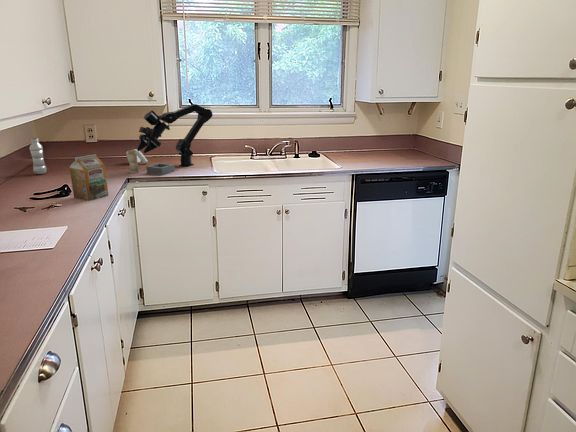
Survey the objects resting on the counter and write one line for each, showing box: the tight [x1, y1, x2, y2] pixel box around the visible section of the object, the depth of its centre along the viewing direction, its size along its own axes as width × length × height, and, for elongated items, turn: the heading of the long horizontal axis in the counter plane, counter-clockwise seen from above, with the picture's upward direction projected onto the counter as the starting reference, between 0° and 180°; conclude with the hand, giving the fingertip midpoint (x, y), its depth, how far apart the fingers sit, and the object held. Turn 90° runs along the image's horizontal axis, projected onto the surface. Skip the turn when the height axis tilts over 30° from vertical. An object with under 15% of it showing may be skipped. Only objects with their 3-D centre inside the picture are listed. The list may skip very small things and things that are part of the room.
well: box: [146, 162, 176, 176], centre depth 256 cm, size 11×11×4 cm
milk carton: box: [69, 153, 109, 202], centre depth 204 cm, size 11×11×19 cm
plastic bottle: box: [29, 137, 48, 175], centre depth 249 cm, size 6×7×20 cm
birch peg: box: [128, 149, 139, 174], centre depth 255 cm, size 4×4×12 cm
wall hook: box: [125, 148, 149, 165], centre depth 280 cm, size 8×10×10 cm
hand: (140, 151), depth 257 cm, fingers open, 9 cm apart
